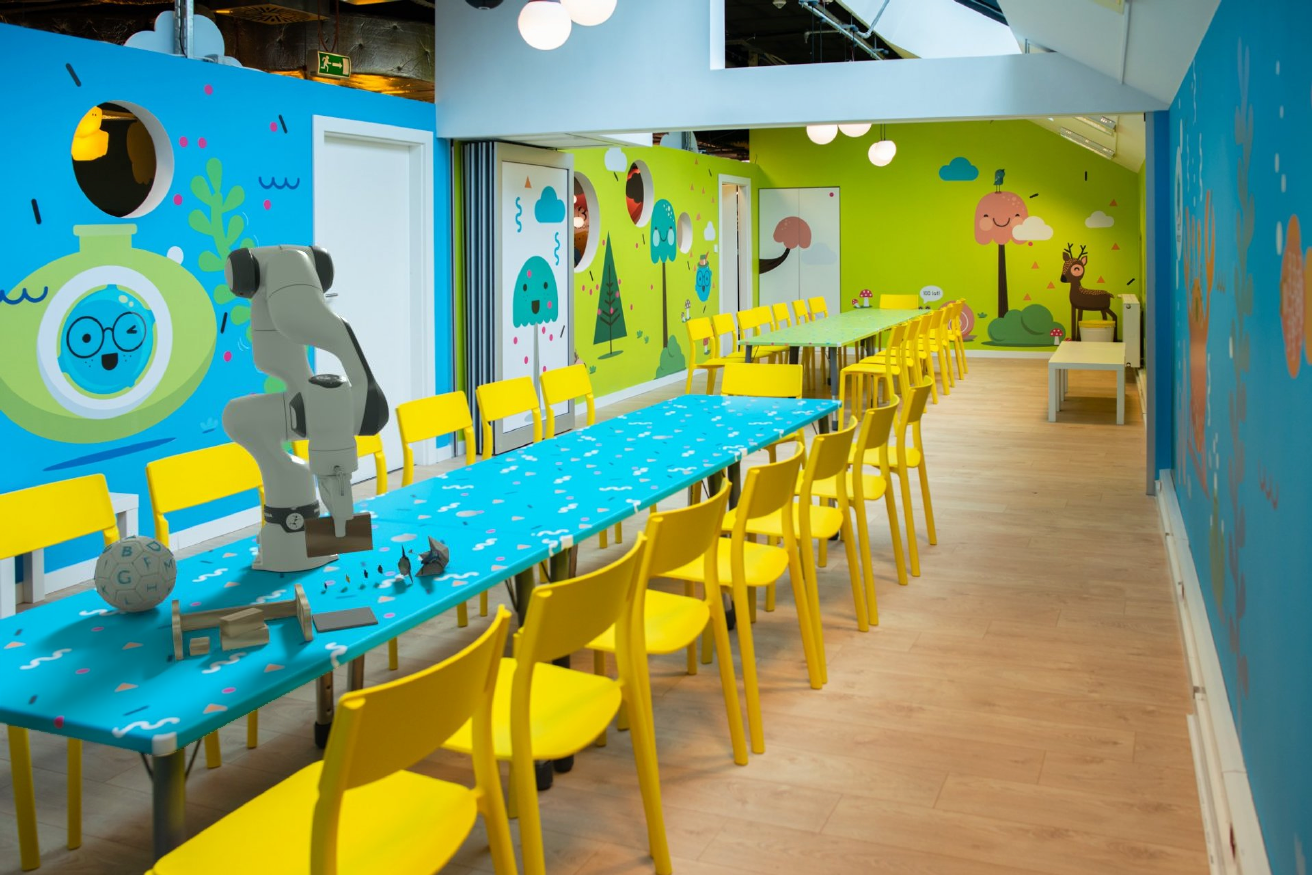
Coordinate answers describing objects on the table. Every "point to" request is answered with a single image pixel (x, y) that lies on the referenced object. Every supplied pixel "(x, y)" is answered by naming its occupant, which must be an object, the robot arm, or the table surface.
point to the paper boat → (435, 567)
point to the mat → (344, 619)
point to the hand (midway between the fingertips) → (338, 533)
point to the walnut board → (326, 542)
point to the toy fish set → (405, 565)
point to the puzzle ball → (135, 573)
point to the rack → (211, 617)
